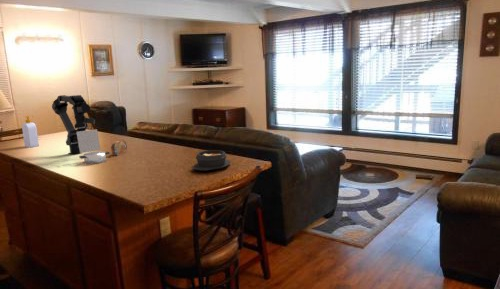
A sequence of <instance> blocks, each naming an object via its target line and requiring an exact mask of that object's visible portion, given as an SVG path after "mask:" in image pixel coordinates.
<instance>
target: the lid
mask: <svg viewBox="0 0 500 289" xmlns="http://www.w3.org/2000/svg"><path fill="white" fill-rule="evenodd" d="M76 133H77V138H78V144H79V150H80V153H79V154H85V153H90V152H98V151H102V150H101V145H100V139H99V138H100V136H99V134H98V129H97V128H96V129H86V131H79V132H76Z"/></svg>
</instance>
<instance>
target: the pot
mask: <svg viewBox="0 0 500 289" xmlns="http://www.w3.org/2000/svg"><path fill="white" fill-rule="evenodd" d="M107 155H110V151H108V150H107V151H91V152H85V153H83V155H79V159H84V164H86V165H97V164H98V165H99V164H102V163H103V164H104V163H105V162H107V157H106V156H107Z"/></svg>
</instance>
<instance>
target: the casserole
mask: <svg viewBox="0 0 500 289" xmlns="http://www.w3.org/2000/svg"><path fill="white" fill-rule="evenodd" d="M227 157H228V155H227V154H226V151H223V150H217V149H212V150H211V149H209V150H203V151H202V150H201V151H200V152H197V153H196V156H195V159H196V163H194V165H193V166H191V169H192V170H196V171H202V172H205V171H216V170H220V169H223V168H225V167H227V166H228V165H229V164H230V163H231V162H232V161H231V160H229V159H226V158H227Z"/></svg>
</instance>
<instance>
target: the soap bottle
mask: <svg viewBox="0 0 500 289" xmlns="http://www.w3.org/2000/svg"><path fill="white" fill-rule="evenodd" d="M31 117H34V115H31ZM25 118H26V119H25V122H24V123H22V126H21V129H22V136H23V143H24V147H26V148H35V147H39V146H40V143H39V136H38V129H37V125H36V124H35V123H34V122H32V119H30V115H26V116H25Z"/></svg>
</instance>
